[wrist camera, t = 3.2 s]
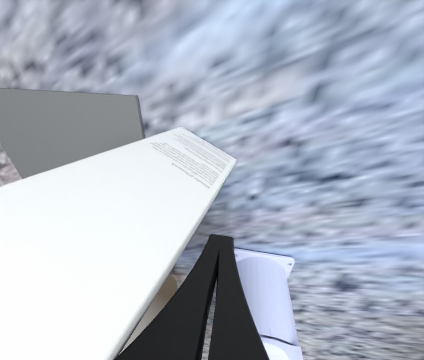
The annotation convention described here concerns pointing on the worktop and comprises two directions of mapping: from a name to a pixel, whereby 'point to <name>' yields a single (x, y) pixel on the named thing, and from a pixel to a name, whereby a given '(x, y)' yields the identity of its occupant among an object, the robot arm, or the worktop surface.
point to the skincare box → (99, 243)
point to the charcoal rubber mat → (64, 126)
